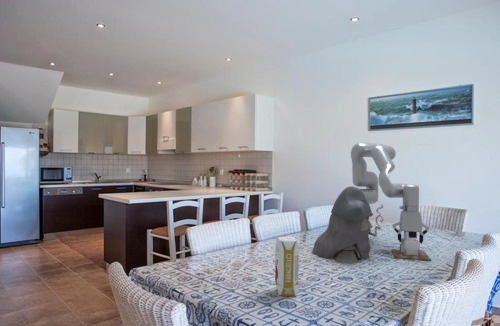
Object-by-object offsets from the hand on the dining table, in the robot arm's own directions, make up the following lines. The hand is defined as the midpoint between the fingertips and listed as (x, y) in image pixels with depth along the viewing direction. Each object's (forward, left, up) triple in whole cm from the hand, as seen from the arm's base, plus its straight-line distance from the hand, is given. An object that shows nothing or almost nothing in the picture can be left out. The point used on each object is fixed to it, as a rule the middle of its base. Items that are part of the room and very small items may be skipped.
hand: (410, 242), depth 173 cm
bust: (-32, -9, -7) cm, 34 cm away
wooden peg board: (0, 0, -7) cm, 7 cm away
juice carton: (-51, -71, -7) cm, 88 cm away
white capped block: (0, 0, -6) cm, 6 cm away
